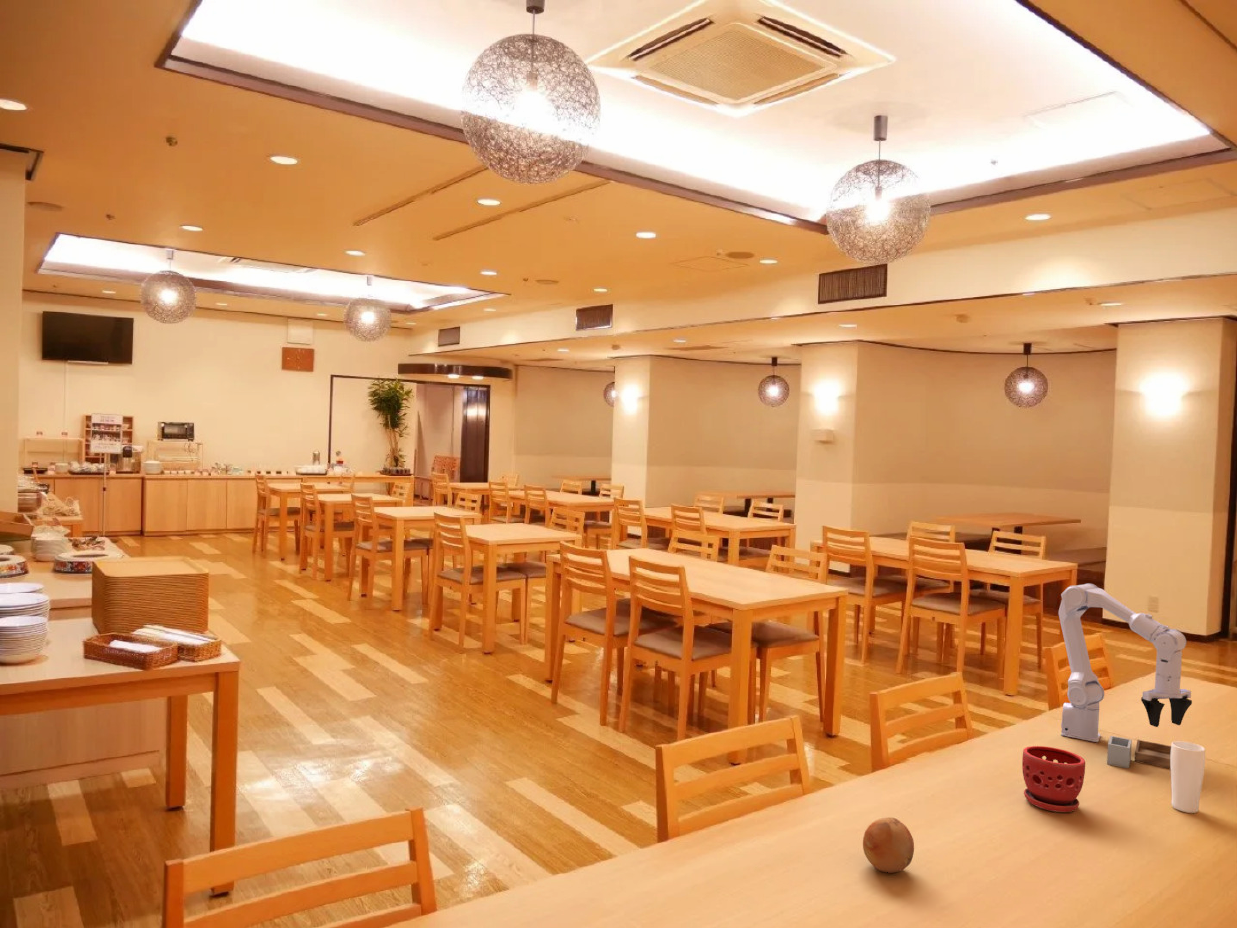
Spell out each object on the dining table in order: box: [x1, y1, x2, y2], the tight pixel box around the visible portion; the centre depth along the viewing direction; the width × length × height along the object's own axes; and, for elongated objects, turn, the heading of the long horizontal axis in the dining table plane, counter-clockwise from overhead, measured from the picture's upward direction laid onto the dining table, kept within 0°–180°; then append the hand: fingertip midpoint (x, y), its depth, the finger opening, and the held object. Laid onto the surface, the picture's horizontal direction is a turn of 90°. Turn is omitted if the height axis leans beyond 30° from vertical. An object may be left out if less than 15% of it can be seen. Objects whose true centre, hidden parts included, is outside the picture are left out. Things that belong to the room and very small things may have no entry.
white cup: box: [1169, 740, 1206, 814], centre depth 201 cm, size 7×7×15 cm
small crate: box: [1106, 735, 1133, 769], centre depth 230 cm, size 5×8×6 cm, turn 146°
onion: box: [862, 816, 915, 874], centre depth 168 cm, size 10×10×10 cm
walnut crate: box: [1134, 739, 1171, 770], centre depth 233 cm, size 9×12×2 cm
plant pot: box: [1021, 745, 1086, 813], centre depth 201 cm, size 13×13×12 cm
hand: (1165, 724), depth 232 cm, fingers open, 7 cm apart
